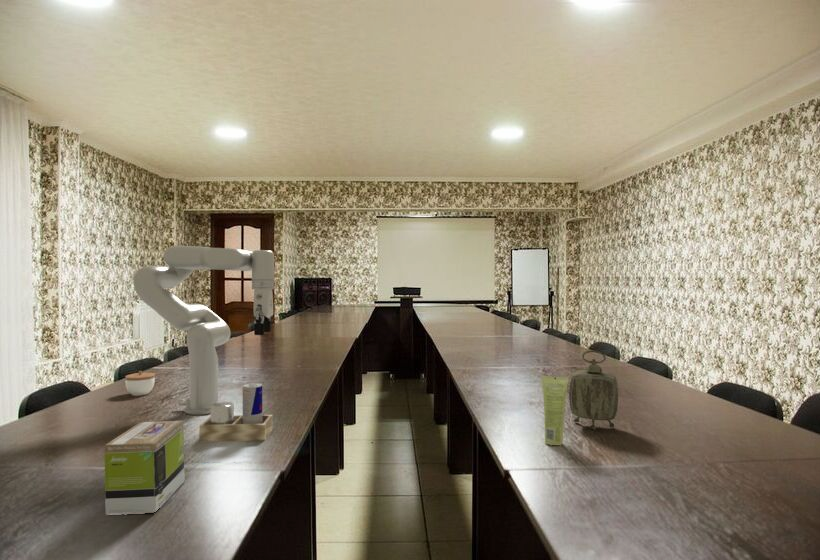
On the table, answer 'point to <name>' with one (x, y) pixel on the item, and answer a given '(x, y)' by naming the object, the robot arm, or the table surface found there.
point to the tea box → (144, 467)
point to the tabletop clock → (593, 393)
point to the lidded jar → (140, 383)
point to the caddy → (236, 430)
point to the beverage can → (252, 403)
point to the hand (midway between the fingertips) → (262, 333)
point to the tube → (554, 408)
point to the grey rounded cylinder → (222, 413)
